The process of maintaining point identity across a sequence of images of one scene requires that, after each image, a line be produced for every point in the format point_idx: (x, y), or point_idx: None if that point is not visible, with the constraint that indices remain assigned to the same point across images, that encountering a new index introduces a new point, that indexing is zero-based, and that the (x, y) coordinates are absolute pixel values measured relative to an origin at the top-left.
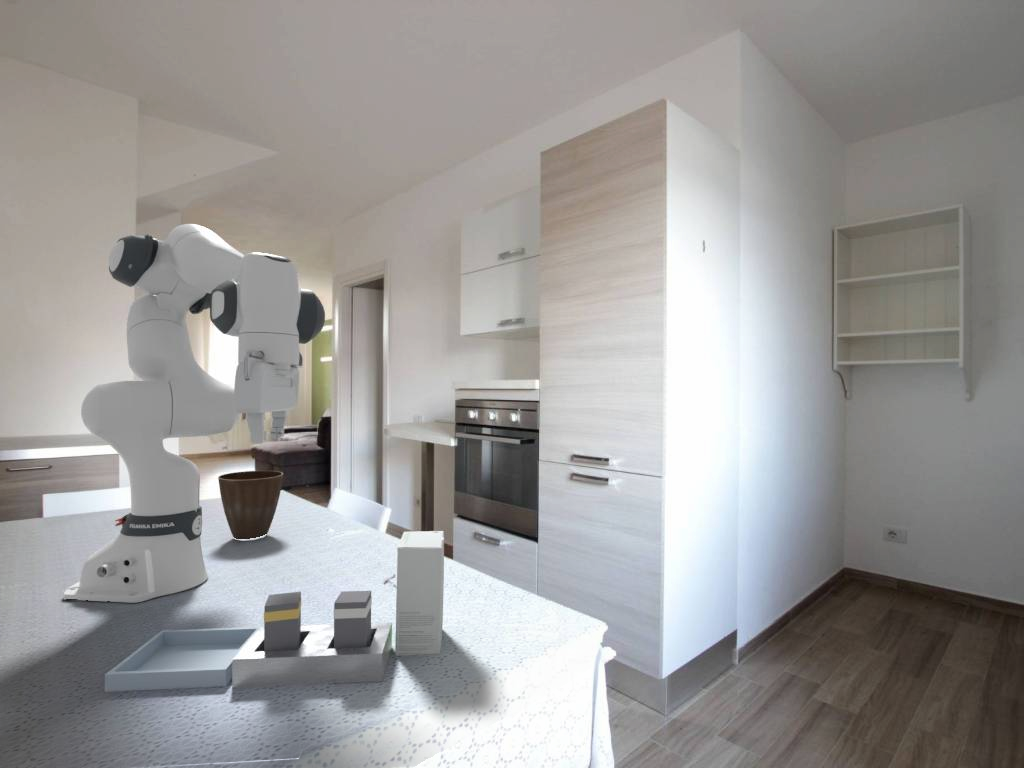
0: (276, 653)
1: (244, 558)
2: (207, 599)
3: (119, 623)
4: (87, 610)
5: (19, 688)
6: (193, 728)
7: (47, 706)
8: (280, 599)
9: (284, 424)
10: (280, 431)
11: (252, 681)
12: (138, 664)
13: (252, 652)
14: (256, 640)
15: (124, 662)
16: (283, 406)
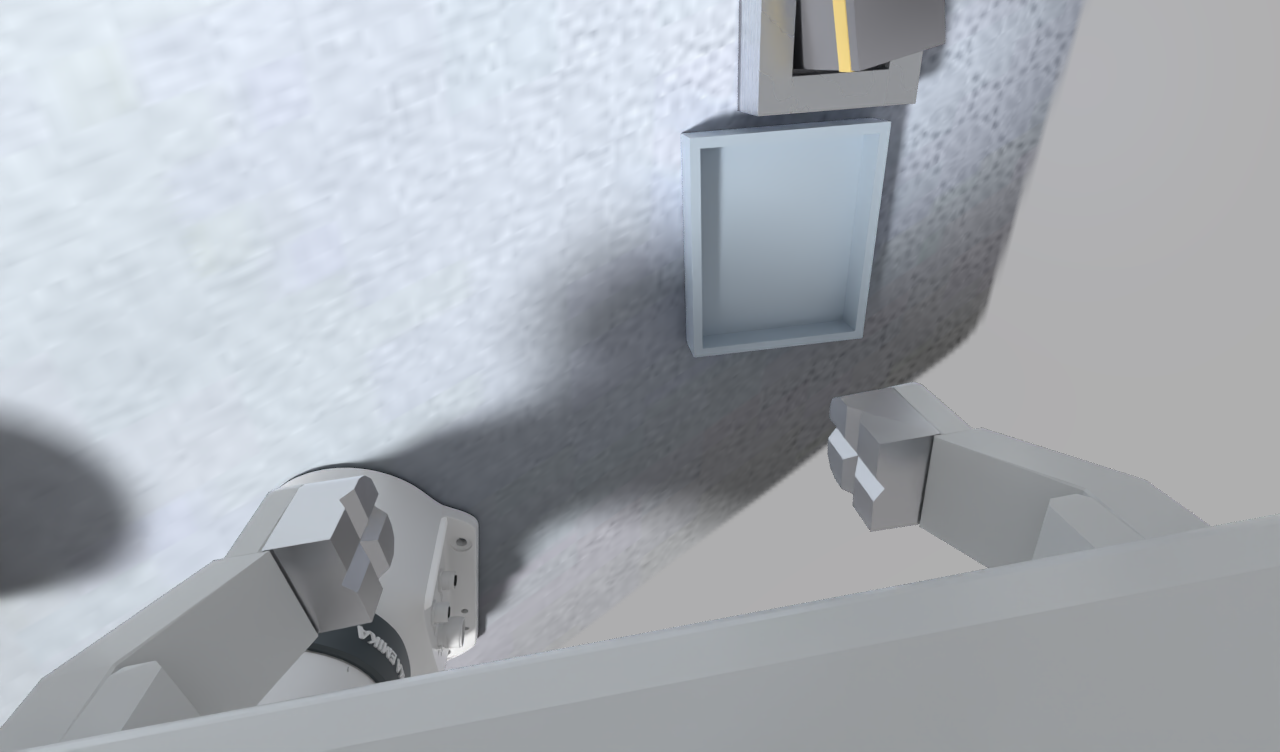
0: None
1: (97, 479)
2: (431, 399)
3: (573, 483)
4: (518, 571)
5: (798, 456)
6: (979, 111)
7: (857, 382)
8: (904, 13)
9: (203, 581)
10: (348, 518)
11: None
12: (778, 329)
13: (891, 71)
14: (831, 91)
15: (824, 335)
16: (436, 724)
